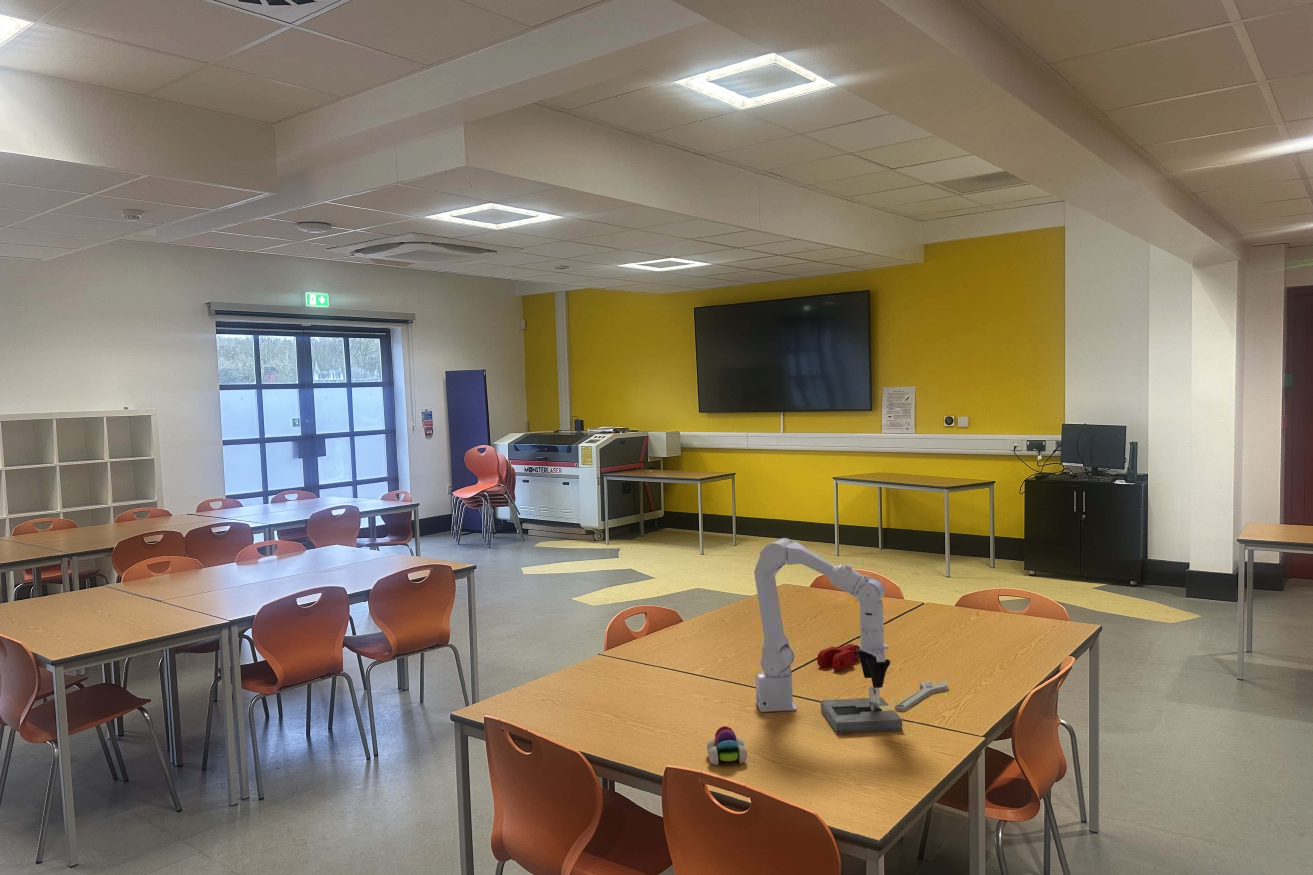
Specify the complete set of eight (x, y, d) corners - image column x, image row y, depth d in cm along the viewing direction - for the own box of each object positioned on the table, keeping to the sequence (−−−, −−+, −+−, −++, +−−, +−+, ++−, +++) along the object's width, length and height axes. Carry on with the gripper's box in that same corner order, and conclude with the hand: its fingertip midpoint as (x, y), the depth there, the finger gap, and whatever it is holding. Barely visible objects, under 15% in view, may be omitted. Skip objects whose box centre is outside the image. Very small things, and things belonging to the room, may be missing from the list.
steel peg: (869, 723, 213) (868, 691, 213) (863, 717, 217) (862, 686, 217) (886, 722, 213) (885, 690, 213) (880, 716, 218) (879, 684, 217)
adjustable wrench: (902, 714, 220) (902, 707, 220) (880, 708, 225) (880, 701, 224) (950, 688, 237) (950, 682, 237) (929, 684, 242) (929, 677, 242)
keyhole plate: (836, 734, 207) (836, 722, 207) (820, 710, 223) (820, 700, 223) (902, 730, 207) (902, 719, 207) (881, 707, 223) (881, 697, 223)
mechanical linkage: (837, 673, 254) (836, 656, 254) (817, 668, 259) (816, 652, 259) (867, 661, 265) (867, 644, 265) (848, 656, 270) (847, 640, 270)
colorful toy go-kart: (742, 750, 199) (741, 719, 199) (748, 768, 189) (747, 735, 189) (706, 752, 199) (705, 721, 199) (710, 769, 189) (709, 737, 189)
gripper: (897, 635, 208) (898, 690, 208) (878, 620, 222) (880, 672, 223) (868, 636, 207) (869, 692, 208) (851, 621, 222) (853, 673, 222)
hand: (873, 682), depth 215 cm, fingers open, 7 cm apart
